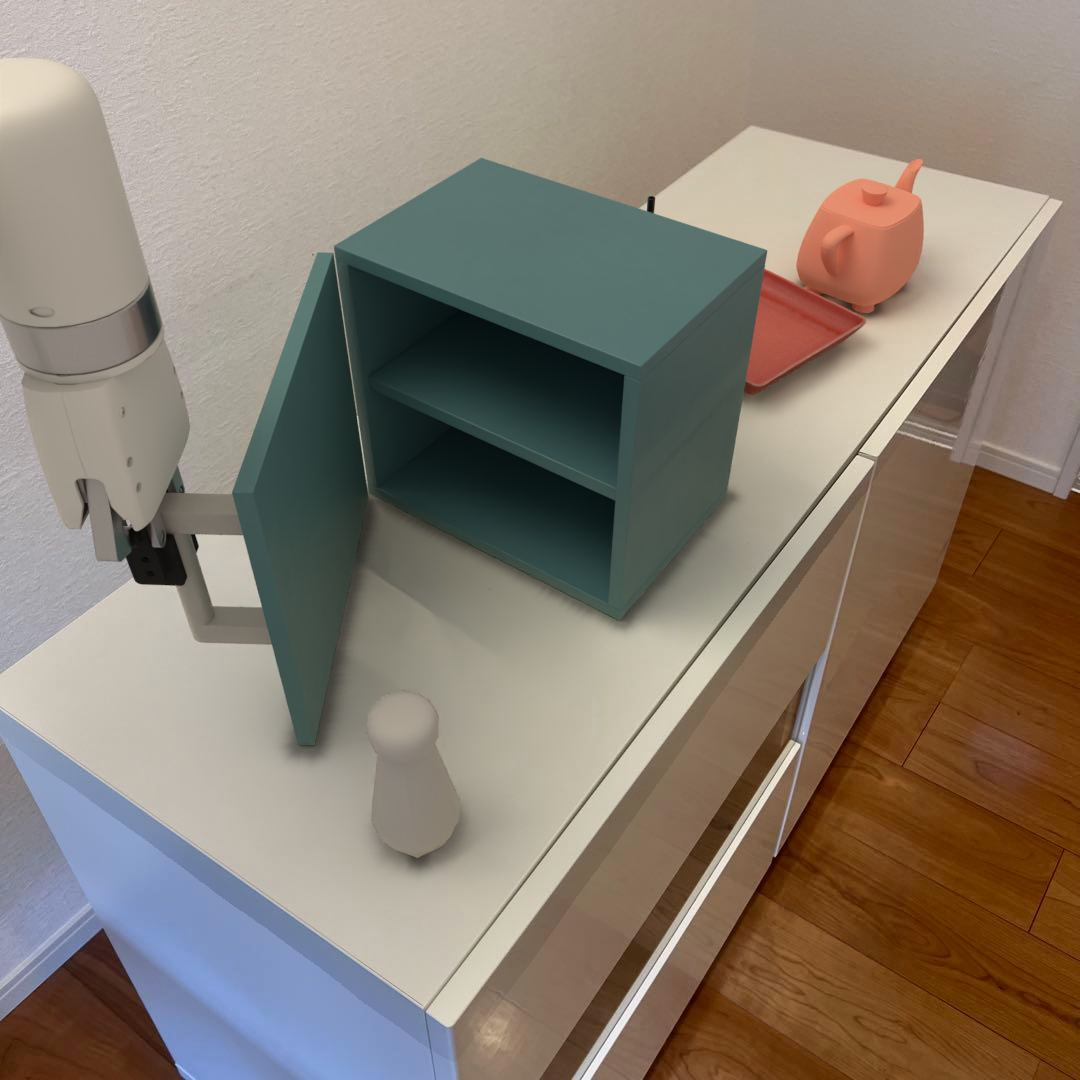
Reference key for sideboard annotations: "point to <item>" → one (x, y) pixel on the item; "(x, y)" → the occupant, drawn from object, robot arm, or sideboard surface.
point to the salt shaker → (410, 775)
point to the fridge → (549, 373)
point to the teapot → (864, 241)
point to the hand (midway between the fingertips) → (167, 565)
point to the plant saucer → (793, 330)
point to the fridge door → (289, 509)
